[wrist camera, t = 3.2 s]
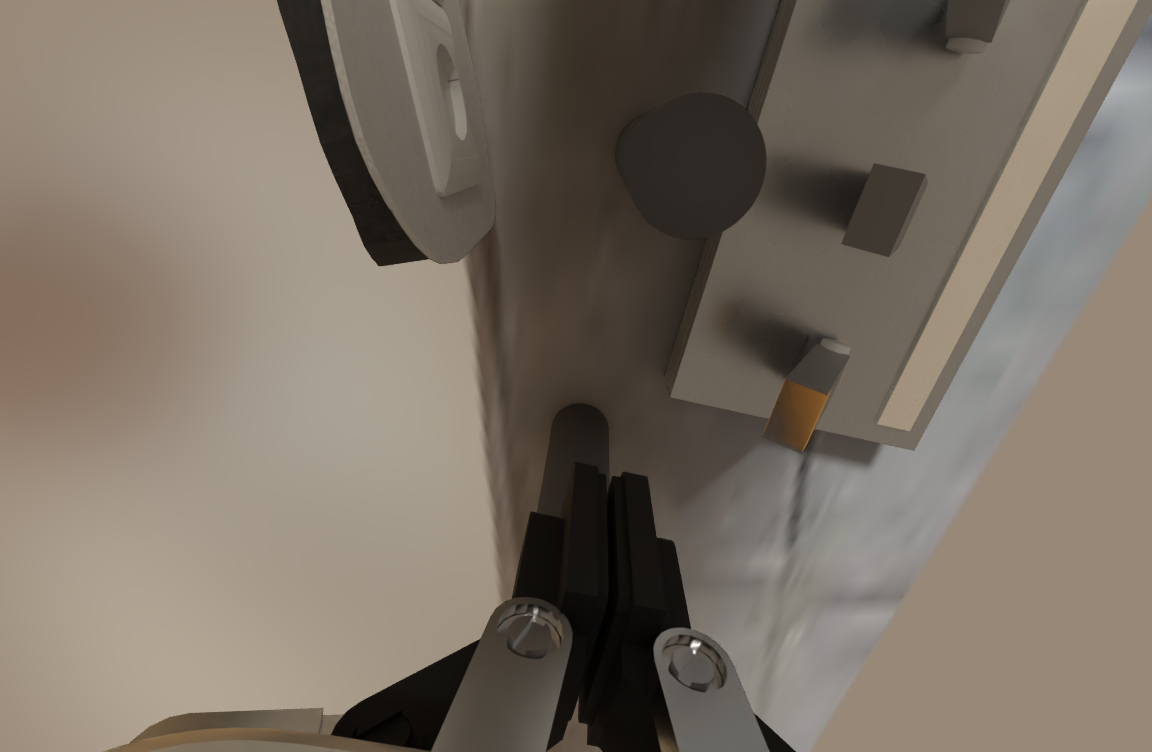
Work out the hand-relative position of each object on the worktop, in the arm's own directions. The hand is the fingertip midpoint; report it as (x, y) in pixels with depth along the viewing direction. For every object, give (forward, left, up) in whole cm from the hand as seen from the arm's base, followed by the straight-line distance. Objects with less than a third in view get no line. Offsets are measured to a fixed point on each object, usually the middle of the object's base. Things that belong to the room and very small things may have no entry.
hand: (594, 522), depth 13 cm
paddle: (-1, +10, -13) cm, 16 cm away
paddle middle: (-8, +10, -13) cm, 18 cm away
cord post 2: (-8, 0, -16) cm, 18 cm away
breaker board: (-8, +10, -16) cm, 20 cm away
